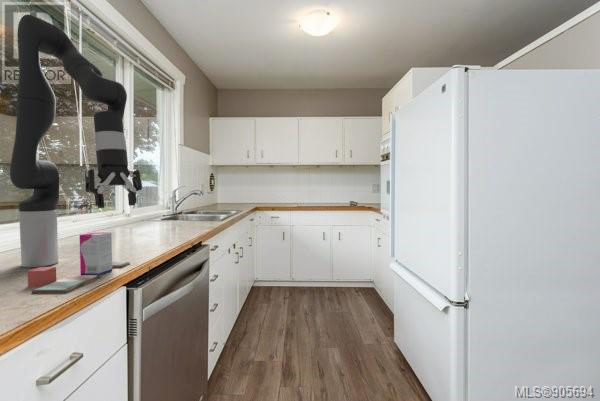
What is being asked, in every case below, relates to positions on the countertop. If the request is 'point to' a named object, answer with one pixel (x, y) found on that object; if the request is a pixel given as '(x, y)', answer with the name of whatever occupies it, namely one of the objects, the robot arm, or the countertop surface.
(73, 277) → the track
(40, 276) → the cube
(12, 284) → the countertop surface
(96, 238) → the supplement box
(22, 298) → the countertop surface
